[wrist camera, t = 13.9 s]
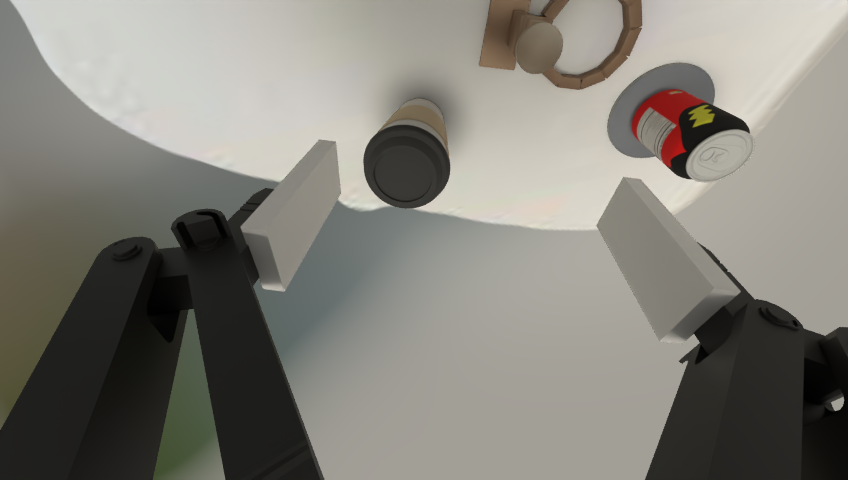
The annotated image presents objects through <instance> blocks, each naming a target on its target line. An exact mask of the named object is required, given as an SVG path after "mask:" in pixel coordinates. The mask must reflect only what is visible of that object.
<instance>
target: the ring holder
mask: <svg viewBox="0 0 848 480" xmlns="http://www.w3.org/2000/svg"><path fill="white" fill-rule="evenodd" d="M568 1H569V0H551V1H550V3H549V4H548V5H547V6H546V8H545V9H544V10H543V12H542V13H541V14H542V15H543V16H535V15H531V14H529V13H528V11H529V7H530V3H531V0H491V2H490V8H489V13H488V19H487V25H486V30H485V36H484V41H483V47H482V53H481V58H480V64H479V65H480V66H483V67H491V68H500V69H508V70H514V68H515V64H516V60H517V62H518V64H519V65H520V67H521V68H522V69H523V70H524V71H526V72H528V73H531V74H539V73H542V74H543V75H545V76H546V77H547V78H548V79H549V80H550V81H551V82H552V83H553V84H554V85H555V86H557V87H560V88H569V89H577V90H580V89H584V88H586V87H589V86H591V85H594V84H596V83H599V82H601V81H604V80H605V78H608V77H609V76H610V75H611V74H612V73H613V72H614V71H615V70H616V69H617V68H618V67H619V66H620V65H621V64H622V63H623V62H624V61H625V60H626V59H627V57H626V56H630V53H631V51H632V49H633V47H634V44H635V42H636V40H637V38H638V35H639V33H640V31H641V29H642V28H639V27H641V26H642V4H641V0H619V1H620V3H621V4H622V7H623V22H624V28H623V31H622V33H621V35H620V38H619V40H618V43H617V45H616V48H615V50H614V51H613V52H612V53H611V54H610V55H609V56H608V57H607V58H606V59H605V60H604V61H603V62H602V63H601V64H600V66H599V67H598V68H595V69H593V70H591V71H588V72H586V73H583V74H581V75H579V76H575V75H566V74H559V73H558V72H557V71H556V70H555V69H554V68H553V67H552V66H553V65H554V64H555V63H556V62H557V60H558V59H559V57H560V54H561V52H562V47H563V39H562V35H561V33H560V31H559V30H558V29H557V28H556V27H555V26H554V25H552V22H553V20H554V19H555V17H556V16H557V15H558V14H559V12H560V11H561V10H562V9H563V7H564V6H565V5H566V4H567V2H568Z"/></svg>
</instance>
